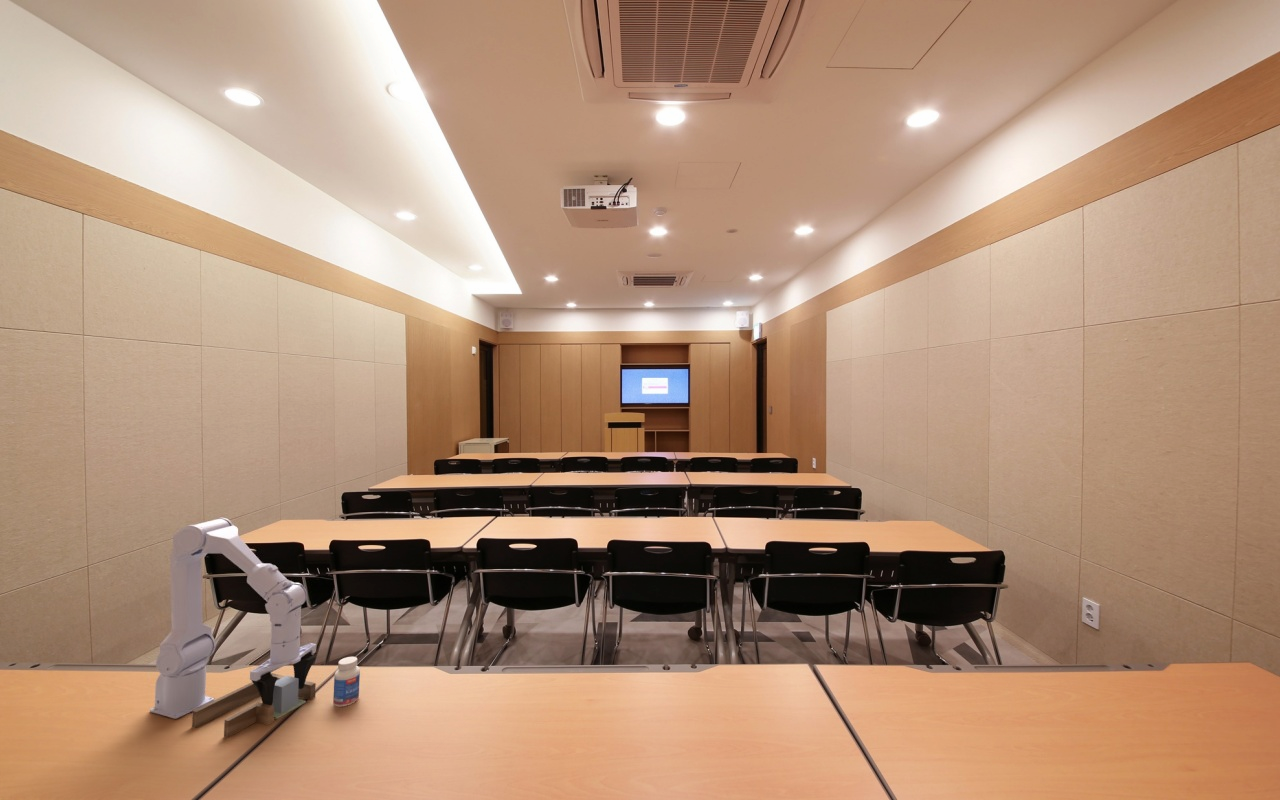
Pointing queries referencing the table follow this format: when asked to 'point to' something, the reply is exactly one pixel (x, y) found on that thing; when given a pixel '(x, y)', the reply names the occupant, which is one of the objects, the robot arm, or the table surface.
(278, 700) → the block
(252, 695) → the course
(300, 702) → the pad
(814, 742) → the table surface
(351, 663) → the pill bottle
